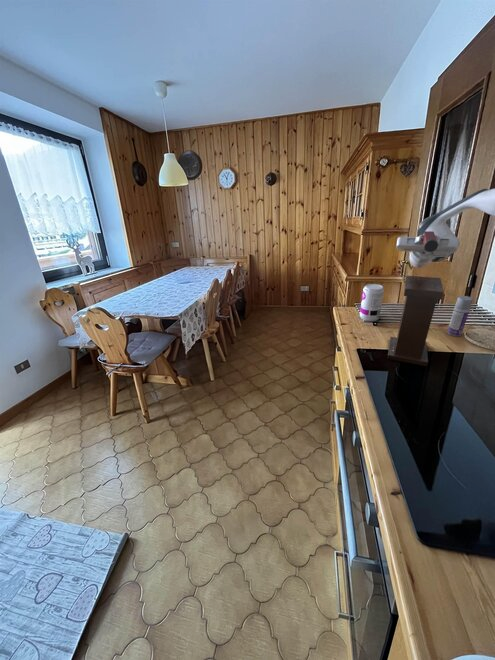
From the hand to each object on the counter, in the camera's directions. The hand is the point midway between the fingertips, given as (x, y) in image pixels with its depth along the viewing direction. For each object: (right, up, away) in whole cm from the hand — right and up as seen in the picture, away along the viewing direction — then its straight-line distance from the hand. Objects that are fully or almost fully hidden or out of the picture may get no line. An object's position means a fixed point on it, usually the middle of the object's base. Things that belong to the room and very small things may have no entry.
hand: (429, 237), depth 101 cm
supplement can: (-10, -28, +26) cm, 40 cm away
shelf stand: (-8, -42, 0) cm, 42 cm away
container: (+16, -35, +10) cm, 40 cm away
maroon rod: (-2, -4, -3) cm, 5 cm away
